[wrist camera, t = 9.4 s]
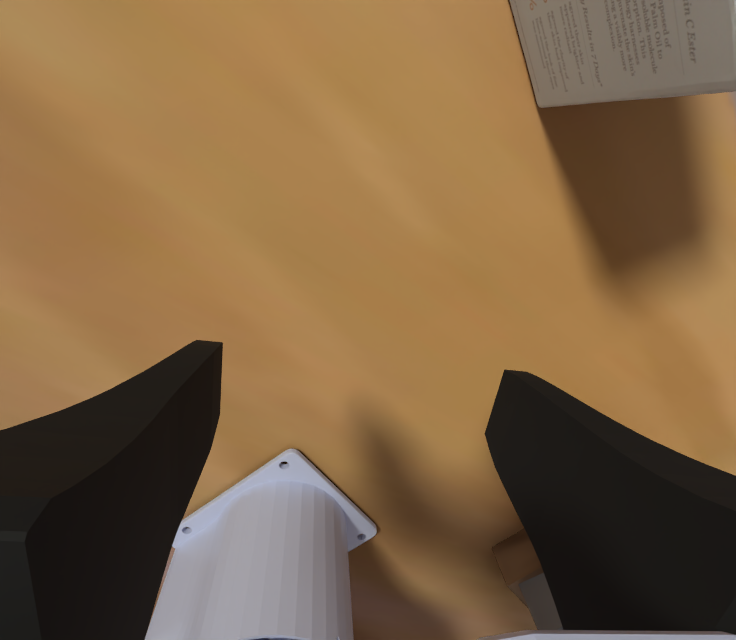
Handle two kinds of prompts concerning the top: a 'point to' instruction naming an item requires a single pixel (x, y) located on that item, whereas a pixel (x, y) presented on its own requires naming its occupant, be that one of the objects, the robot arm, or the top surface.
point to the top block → (541, 603)
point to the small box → (626, 48)
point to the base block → (517, 561)
